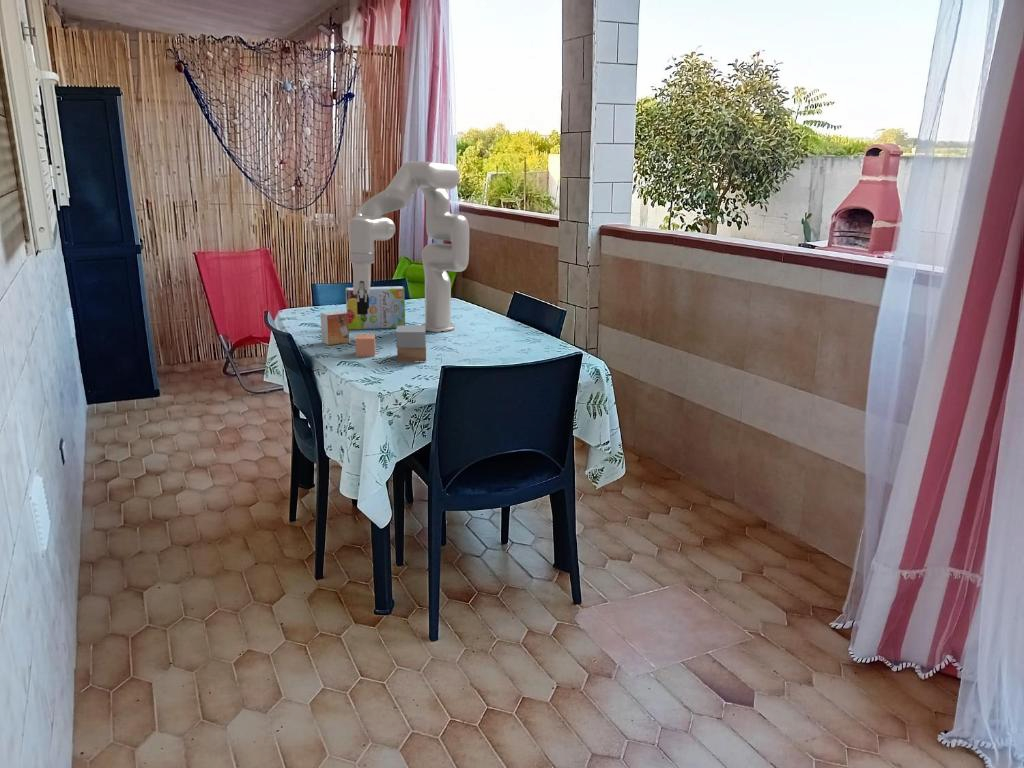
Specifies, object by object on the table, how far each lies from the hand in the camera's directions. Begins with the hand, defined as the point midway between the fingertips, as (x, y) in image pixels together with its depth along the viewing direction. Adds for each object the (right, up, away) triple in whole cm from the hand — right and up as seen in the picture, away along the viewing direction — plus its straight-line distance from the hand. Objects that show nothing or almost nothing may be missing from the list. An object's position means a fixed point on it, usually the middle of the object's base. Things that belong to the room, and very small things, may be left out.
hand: (363, 311), depth 248 cm
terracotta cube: (0, -14, +5) cm, 14 cm away
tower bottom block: (+15, -15, +1) cm, 22 cm away
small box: (-13, -9, +18) cm, 24 cm away
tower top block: (+15, -11, 0) cm, 19 cm away
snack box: (-3, -2, +42) cm, 42 cm away
